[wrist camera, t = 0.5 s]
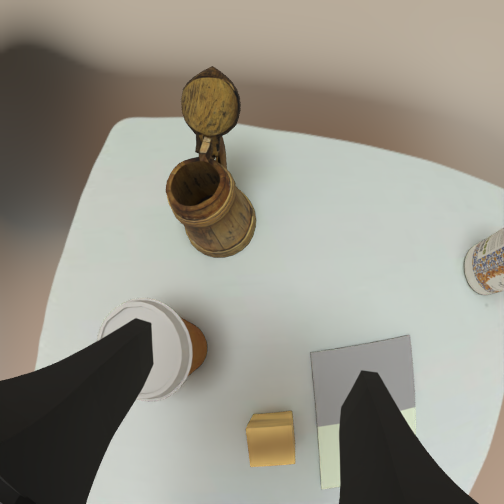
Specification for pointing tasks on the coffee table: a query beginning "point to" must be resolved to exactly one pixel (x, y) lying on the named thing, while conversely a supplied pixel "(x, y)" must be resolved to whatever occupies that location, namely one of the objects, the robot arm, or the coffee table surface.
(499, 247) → the bath foam
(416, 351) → the coffee table surface
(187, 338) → the disposable coffee cup
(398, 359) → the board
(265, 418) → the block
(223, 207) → the wooden mug
